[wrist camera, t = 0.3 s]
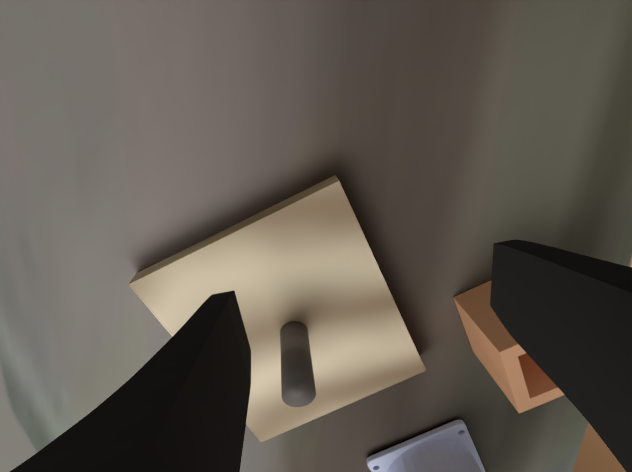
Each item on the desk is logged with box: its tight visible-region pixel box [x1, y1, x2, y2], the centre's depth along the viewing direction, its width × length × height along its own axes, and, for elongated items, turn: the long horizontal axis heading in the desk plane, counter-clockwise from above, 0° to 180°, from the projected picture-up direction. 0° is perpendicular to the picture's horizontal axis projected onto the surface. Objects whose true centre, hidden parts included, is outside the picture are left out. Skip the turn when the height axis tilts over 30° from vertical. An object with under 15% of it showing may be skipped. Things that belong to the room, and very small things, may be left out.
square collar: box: [453, 280, 565, 414], centre depth 21 cm, size 5×5×5 cm
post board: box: [128, 175, 426, 442], centre depth 19 cm, size 14×12×6 cm
